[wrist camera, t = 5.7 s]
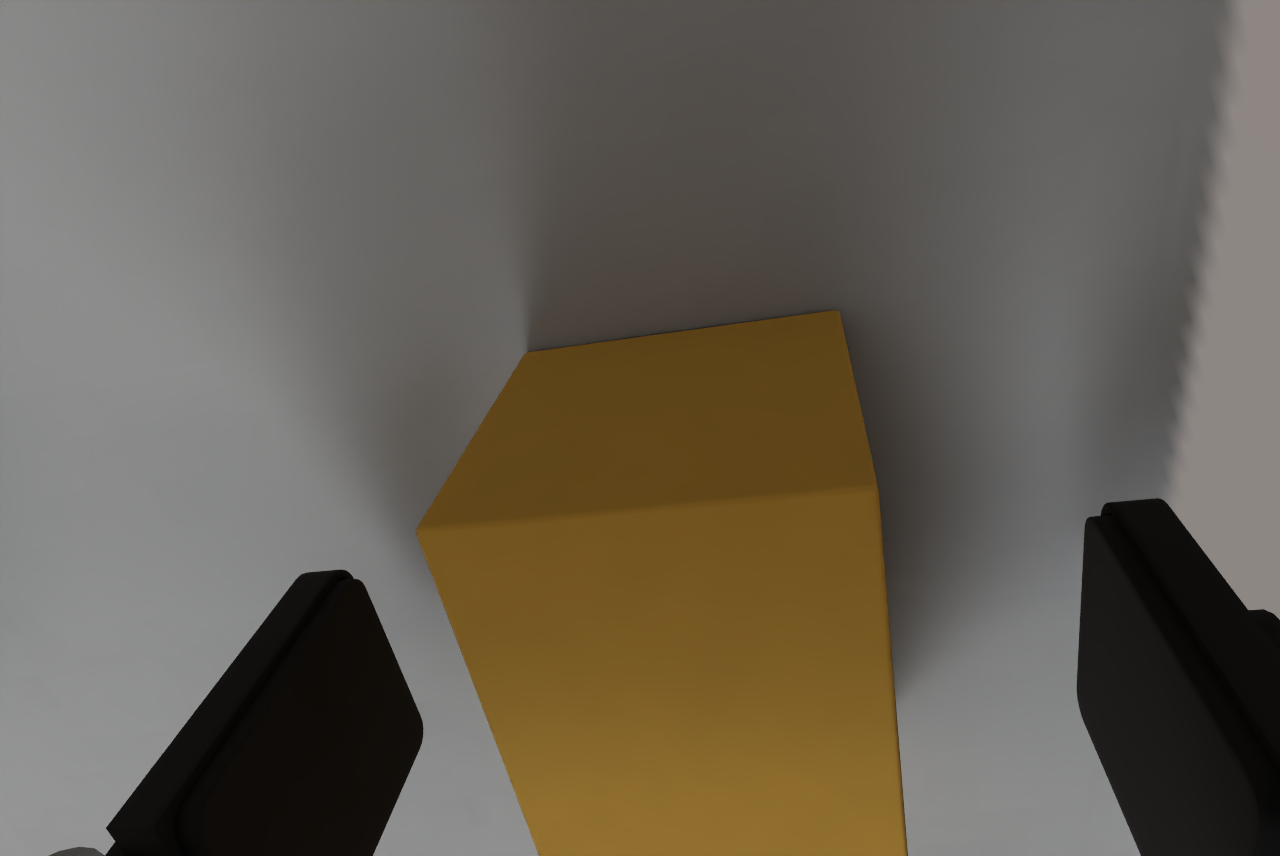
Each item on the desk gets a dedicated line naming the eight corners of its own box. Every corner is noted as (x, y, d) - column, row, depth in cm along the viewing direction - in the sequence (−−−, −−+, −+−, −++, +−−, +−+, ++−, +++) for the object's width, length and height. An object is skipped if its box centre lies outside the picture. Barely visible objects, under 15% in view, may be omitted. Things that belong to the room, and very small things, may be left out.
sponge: (524, 351, 11) (412, 531, 7) (839, 307, 10) (878, 486, 7) (630, 735, 14) (587, 987, 11) (878, 725, 13) (918, 996, 10)
